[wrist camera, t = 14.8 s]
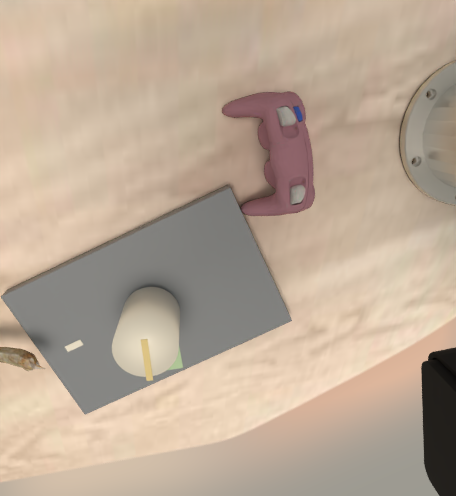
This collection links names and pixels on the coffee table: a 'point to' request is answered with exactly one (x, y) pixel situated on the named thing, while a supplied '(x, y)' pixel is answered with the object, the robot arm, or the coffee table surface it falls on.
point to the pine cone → (19, 358)
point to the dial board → (151, 275)
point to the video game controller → (280, 151)
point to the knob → (147, 333)
